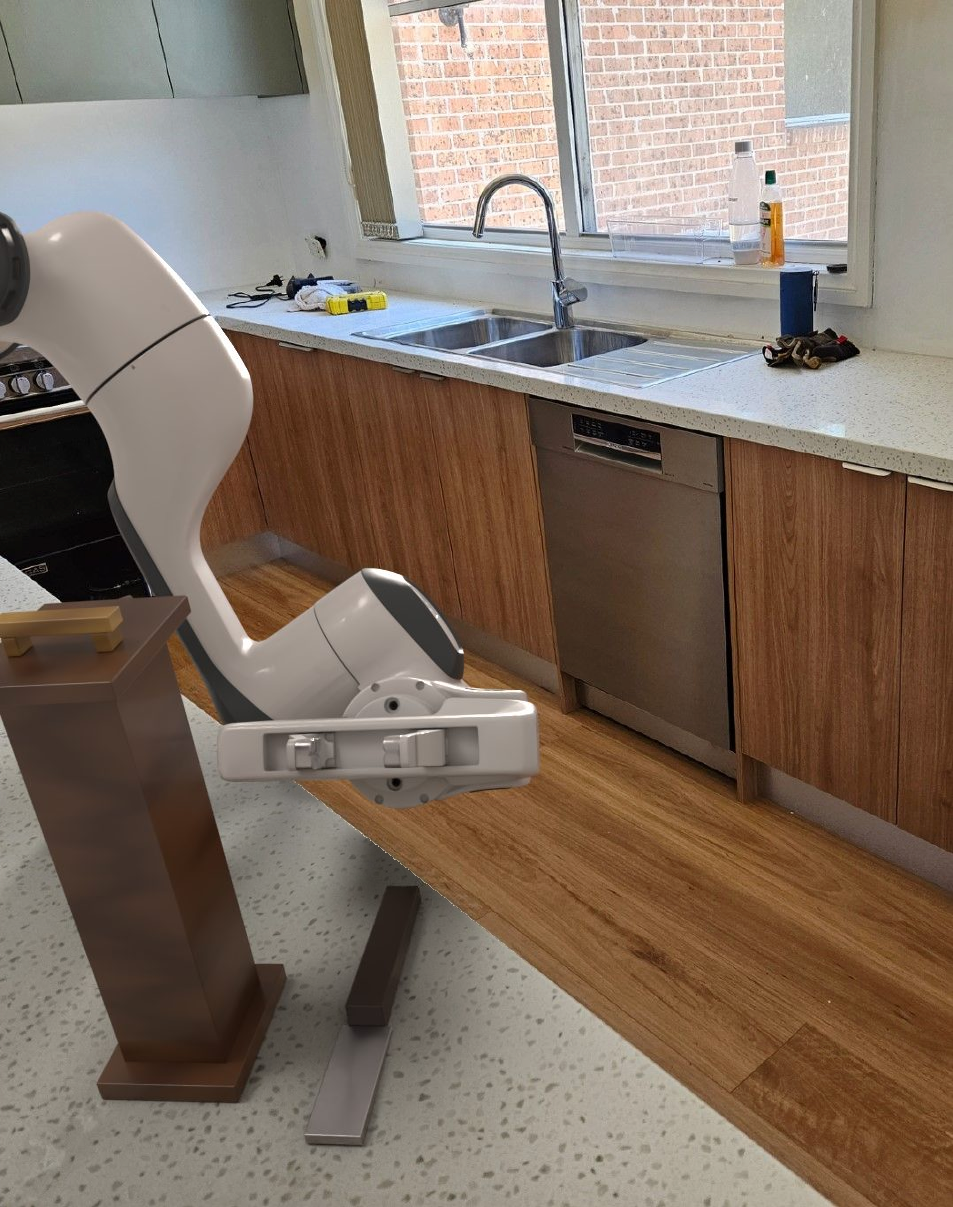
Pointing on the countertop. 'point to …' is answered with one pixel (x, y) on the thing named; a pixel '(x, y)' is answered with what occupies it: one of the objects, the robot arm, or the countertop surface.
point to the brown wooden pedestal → (136, 844)
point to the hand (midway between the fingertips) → (346, 754)
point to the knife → (365, 1026)
